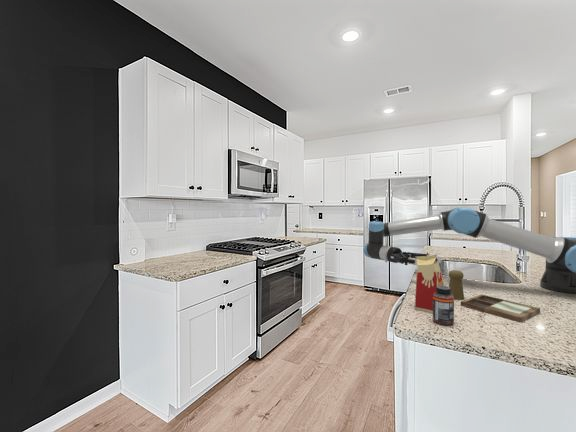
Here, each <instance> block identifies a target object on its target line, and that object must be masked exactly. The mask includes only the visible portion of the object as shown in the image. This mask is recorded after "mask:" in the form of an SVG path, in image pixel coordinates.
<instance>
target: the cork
mask: <svg viewBox="0 0 576 432" xmlns="http://www.w3.org/2000/svg"><path fill="white" fill-rule="evenodd" d="M448 277H449V285H448V287H450V289H451V292H450V293H451V294H452V295H453V296H454V301H455V300H456V301H464V300H465V294H464V293H465V292H464V286H463V279H464V278H465V277H464V273H463V272H462V271H461V270H456V269H455V270H453V269H452V270H449V272H448Z"/></svg>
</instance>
